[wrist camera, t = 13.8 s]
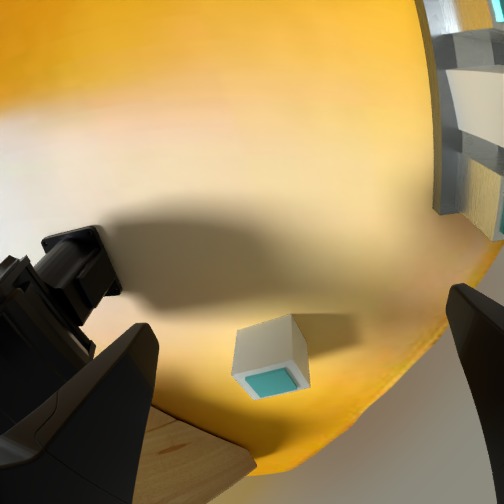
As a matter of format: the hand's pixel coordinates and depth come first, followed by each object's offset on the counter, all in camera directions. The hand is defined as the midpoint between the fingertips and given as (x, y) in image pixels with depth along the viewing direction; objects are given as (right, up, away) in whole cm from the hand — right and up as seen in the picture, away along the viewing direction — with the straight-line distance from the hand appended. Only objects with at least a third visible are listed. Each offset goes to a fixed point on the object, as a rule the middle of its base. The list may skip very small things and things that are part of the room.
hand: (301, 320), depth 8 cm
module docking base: (+14, +13, +7) cm, 20 cm away
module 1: (0, -6, +19) cm, 19 cm away
